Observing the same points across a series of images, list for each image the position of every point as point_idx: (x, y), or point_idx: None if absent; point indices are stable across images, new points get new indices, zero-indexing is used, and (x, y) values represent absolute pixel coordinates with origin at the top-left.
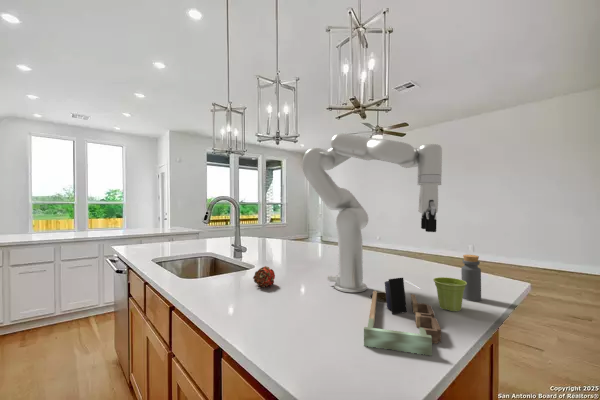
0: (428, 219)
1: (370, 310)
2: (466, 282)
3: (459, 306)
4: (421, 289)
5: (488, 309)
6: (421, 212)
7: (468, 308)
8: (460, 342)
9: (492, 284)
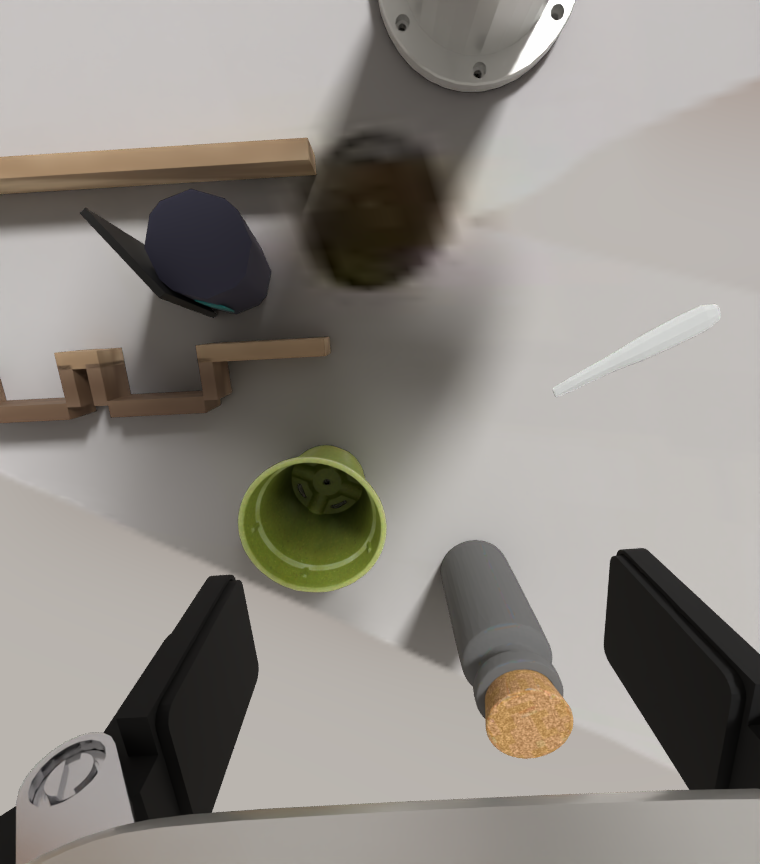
0: (77, 759)
1: (15, 157)
2: (460, 593)
3: (298, 513)
4: (553, 391)
5: (364, 596)
6: (136, 827)
7: None
8: (42, 467)
9: None
